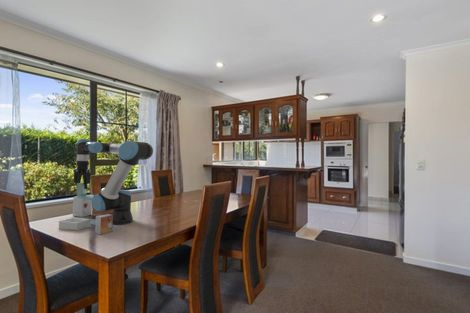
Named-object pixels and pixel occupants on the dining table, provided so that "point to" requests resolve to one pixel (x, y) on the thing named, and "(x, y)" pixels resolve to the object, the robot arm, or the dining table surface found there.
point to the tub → (74, 224)
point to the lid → (79, 192)
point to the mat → (93, 222)
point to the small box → (104, 224)
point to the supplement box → (81, 207)
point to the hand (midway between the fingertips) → (81, 193)
